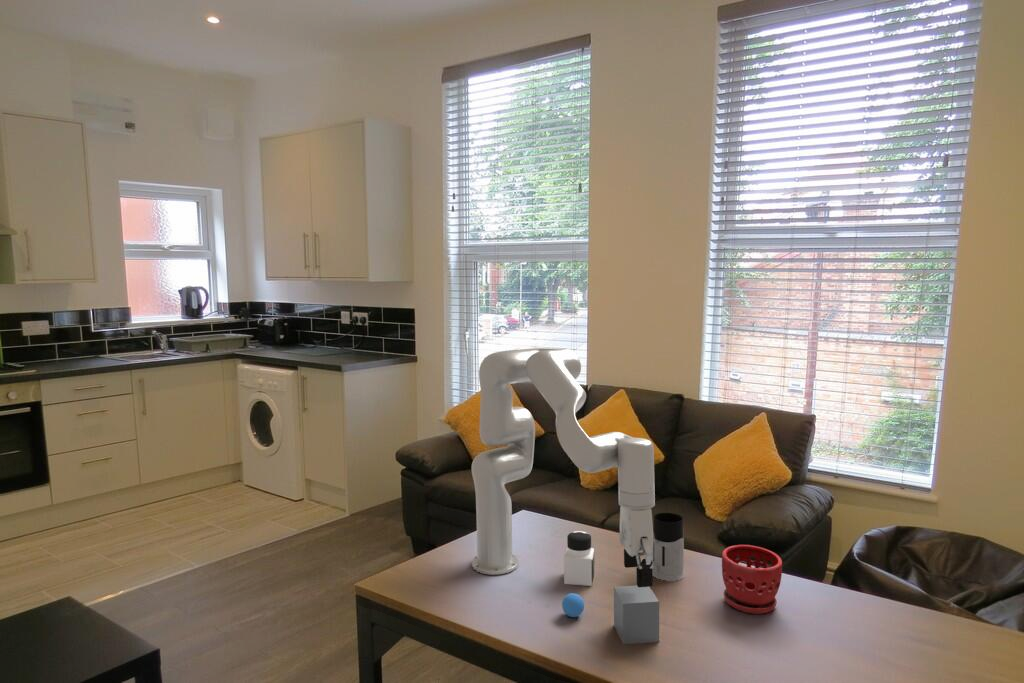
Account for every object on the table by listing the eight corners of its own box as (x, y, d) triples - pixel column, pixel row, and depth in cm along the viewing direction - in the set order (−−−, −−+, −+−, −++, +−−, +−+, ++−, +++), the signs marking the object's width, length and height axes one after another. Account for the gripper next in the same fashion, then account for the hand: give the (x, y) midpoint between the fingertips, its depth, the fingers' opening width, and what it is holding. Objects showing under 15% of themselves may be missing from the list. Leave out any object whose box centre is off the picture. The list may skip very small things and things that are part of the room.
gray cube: (614, 625, 141) (613, 586, 140) (648, 623, 141) (648, 584, 141) (623, 644, 133) (623, 603, 132) (659, 642, 134) (659, 601, 133)
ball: (560, 610, 147) (560, 590, 147) (581, 609, 148) (581, 588, 147) (564, 622, 142) (564, 600, 142) (586, 620, 143) (586, 599, 142)
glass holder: (692, 575, 165) (693, 518, 164) (654, 590, 157) (654, 531, 156) (666, 563, 172) (666, 509, 171) (628, 577, 164) (628, 520, 163)
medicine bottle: (592, 586, 159) (592, 540, 158) (564, 584, 161) (563, 538, 160) (594, 574, 166) (594, 529, 165) (567, 572, 168) (566, 527, 167)
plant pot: (711, 606, 148) (712, 556, 148) (735, 586, 158) (736, 539, 157) (768, 625, 140) (769, 572, 139) (789, 603, 149) (790, 554, 148)
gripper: (609, 486, 143) (610, 561, 144) (630, 511, 126) (631, 596, 127) (641, 484, 144) (643, 558, 145) (667, 509, 127) (668, 593, 128)
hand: (637, 576), depth 136 cm, fingers open, 9 cm apart
